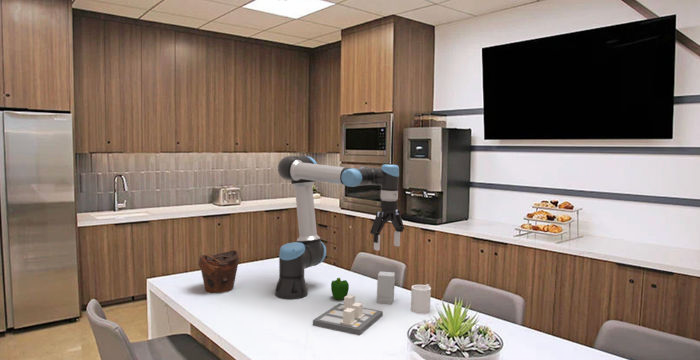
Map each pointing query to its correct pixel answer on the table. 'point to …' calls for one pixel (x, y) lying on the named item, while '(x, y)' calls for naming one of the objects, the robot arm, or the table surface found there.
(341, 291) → the bell pepper
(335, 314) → the switch bank
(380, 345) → the table surface
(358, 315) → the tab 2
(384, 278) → the supplement box
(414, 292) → the cup
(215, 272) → the chocolate chip muffin
